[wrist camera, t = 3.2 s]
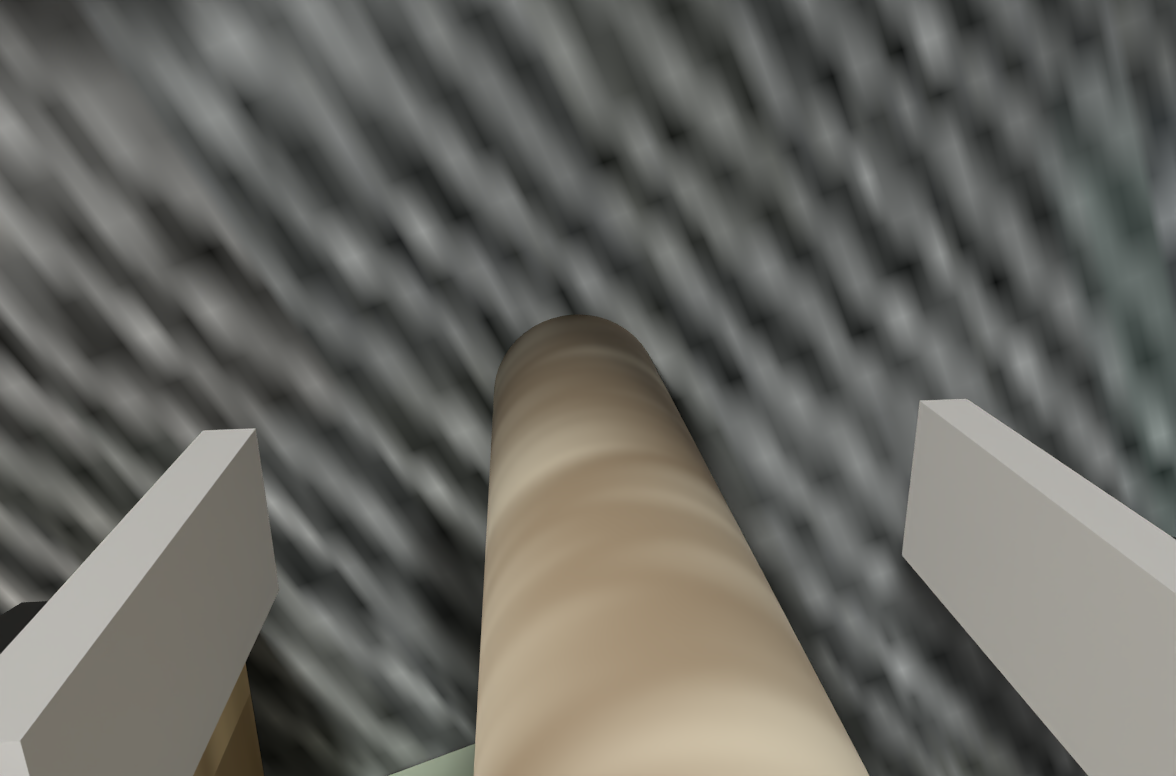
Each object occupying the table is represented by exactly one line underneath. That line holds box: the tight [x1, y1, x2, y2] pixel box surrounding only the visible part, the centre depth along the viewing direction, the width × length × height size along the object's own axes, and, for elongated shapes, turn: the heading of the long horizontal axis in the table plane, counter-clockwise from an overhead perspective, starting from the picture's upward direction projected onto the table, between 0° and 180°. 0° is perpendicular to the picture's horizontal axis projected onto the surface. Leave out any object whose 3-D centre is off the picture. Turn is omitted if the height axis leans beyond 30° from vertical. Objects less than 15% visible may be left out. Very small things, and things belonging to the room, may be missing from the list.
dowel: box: [474, 315, 869, 776], centre depth 11 cm, size 3×3×14 cm
